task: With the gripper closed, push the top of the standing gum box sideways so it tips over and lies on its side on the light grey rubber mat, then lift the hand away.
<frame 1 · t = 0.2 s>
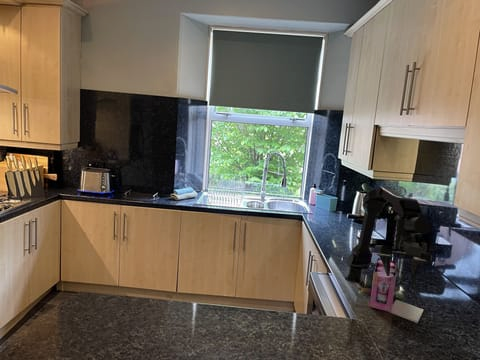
hand: (400, 277, 128), 15 cm above the worktop, tool pointing down, fingers open, 9 cm apart
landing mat: (406, 311, 138), on the worktop
gum box: (381, 299, 144), on the worktop, touching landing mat
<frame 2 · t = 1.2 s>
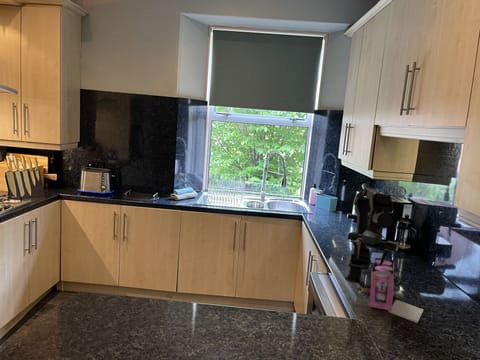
hand: (368, 262, 146), 14 cm above the worktop, tool pointing down, fingers open, 9 cm apart
gum box: (381, 299, 144), on the worktop, touching gripper
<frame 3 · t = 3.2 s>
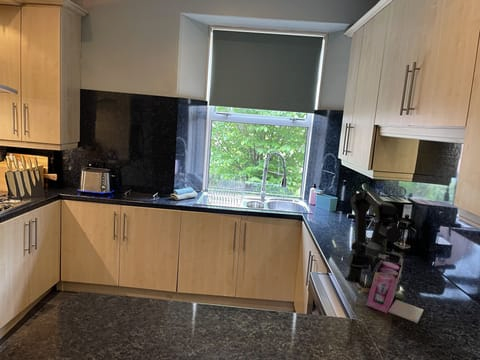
hand: (371, 272, 146), 10 cm above the worktop, tool pointing down, fingers closed
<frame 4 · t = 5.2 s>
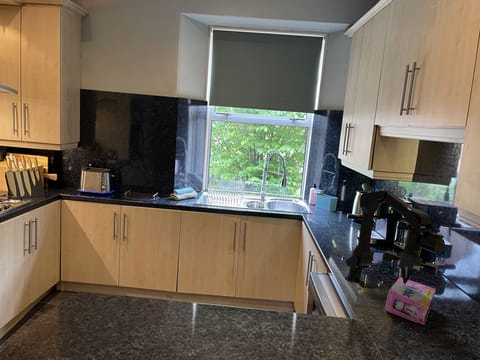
hand: (404, 283, 140), 10 cm above the worktop, tool pointing down, fingers closed
gum box: (391, 292, 142), point 5 cm above the worktop, touching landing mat
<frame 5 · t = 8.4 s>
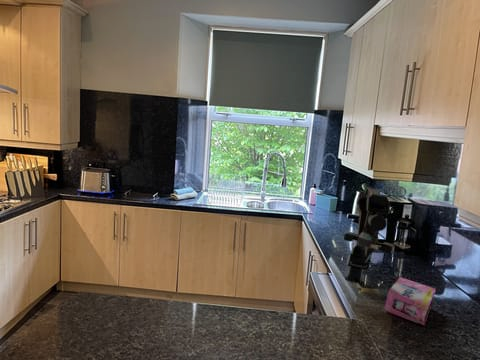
hand: (364, 262, 146), 13 cm above the worktop, tool pointing down, fingers closed
nothing on the worktop moved.
at the end: gum box tilted 91°; gum box inside the target area (5.1 cm from its centre), point 4.6 cm above the worktop; the gripper is holding nothing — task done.
